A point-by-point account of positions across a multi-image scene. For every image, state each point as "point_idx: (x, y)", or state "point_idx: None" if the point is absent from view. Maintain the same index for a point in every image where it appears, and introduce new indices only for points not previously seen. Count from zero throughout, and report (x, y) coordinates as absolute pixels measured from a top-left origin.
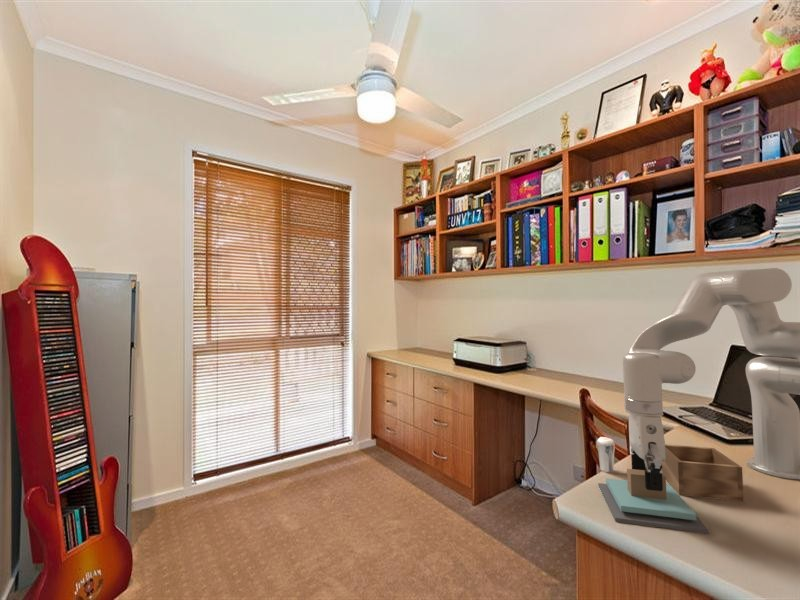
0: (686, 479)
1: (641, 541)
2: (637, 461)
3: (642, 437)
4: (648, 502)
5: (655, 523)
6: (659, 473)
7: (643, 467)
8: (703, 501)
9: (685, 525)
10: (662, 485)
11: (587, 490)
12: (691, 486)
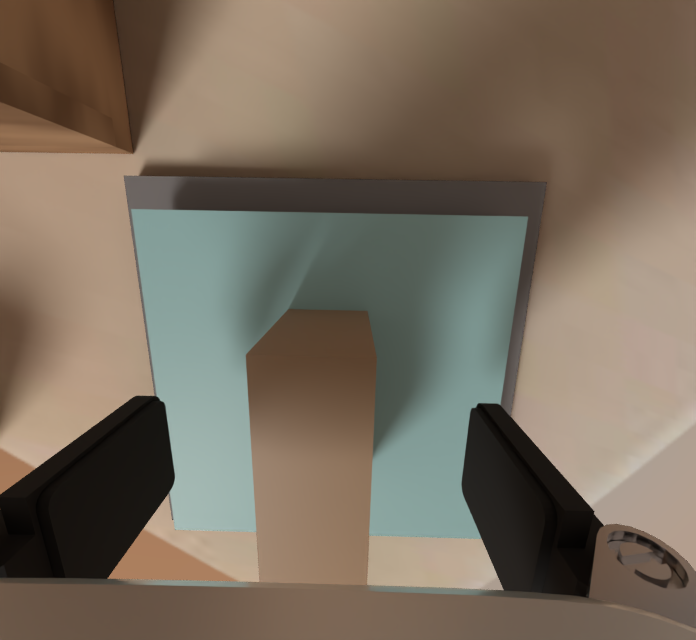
0: (37, 57)
1: (615, 470)
2: (117, 524)
3: None
4: (424, 415)
5: (511, 396)
6: (583, 526)
7: (146, 443)
8: (173, 39)
9: (521, 279)
10: (516, 423)
11: (240, 553)
12: (75, 48)
